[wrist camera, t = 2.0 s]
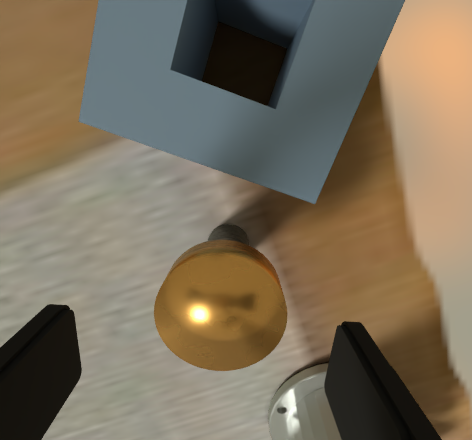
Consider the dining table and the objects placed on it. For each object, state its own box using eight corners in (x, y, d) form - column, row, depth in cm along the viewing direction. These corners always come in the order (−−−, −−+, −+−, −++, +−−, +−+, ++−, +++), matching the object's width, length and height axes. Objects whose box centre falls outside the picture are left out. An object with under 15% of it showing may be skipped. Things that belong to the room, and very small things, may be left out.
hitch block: (356, 11, 16) (442, -85, 9) (287, 181, 19) (315, 204, 12) (182, -62, 15) (136, -228, 8) (139, 129, 18) (78, 121, 11)
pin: (278, 221, 20) (308, 281, 11) (251, 287, 22) (259, 384, 13) (202, 195, 20) (174, 237, 11) (180, 265, 21) (140, 350, 13)
